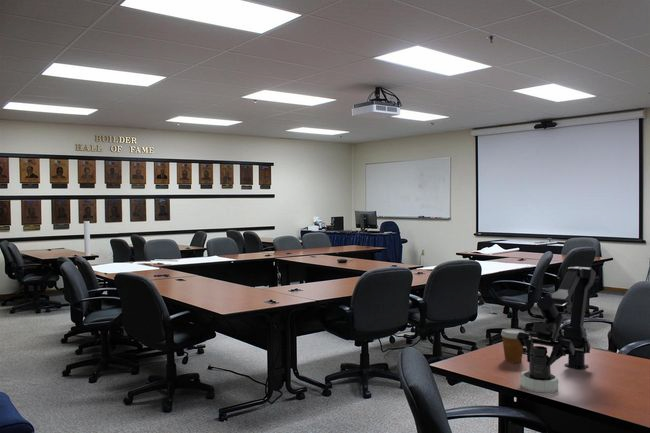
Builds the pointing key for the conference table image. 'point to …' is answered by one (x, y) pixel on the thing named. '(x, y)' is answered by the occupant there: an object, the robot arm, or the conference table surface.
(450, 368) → the conference table surface
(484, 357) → the conference table surface
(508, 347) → the disposable coffee cup
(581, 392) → the conference table surface
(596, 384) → the conference table surface
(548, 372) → the supplement bottle
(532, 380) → the ring stand
